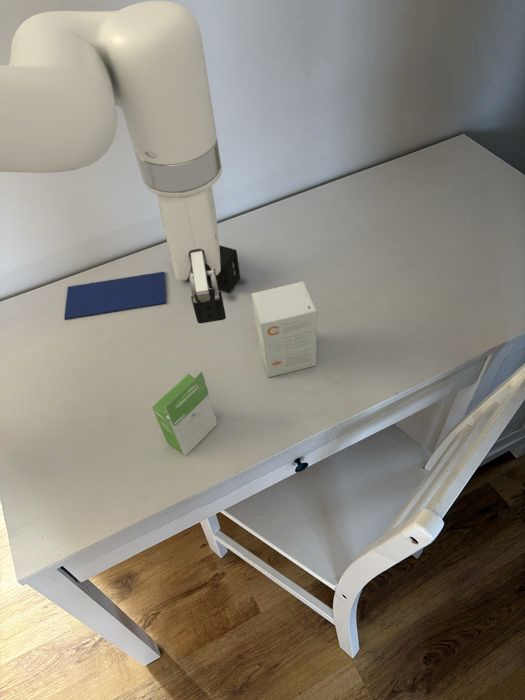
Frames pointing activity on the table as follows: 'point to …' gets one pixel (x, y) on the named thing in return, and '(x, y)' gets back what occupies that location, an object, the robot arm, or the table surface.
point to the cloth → (115, 295)
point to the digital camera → (225, 270)
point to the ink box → (186, 413)
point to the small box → (285, 328)
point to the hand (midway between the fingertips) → (208, 289)
